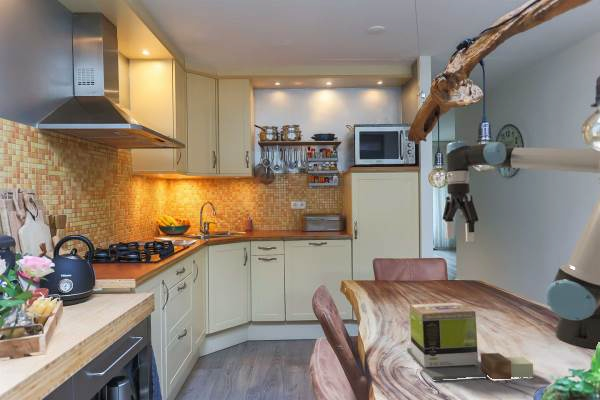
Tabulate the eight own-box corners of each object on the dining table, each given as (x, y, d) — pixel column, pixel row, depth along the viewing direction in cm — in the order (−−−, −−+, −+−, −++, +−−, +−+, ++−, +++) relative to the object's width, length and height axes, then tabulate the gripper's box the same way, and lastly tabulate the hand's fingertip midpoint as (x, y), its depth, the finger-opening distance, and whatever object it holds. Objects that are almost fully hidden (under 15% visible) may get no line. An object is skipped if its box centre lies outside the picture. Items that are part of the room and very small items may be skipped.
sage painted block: (523, 372, 93) (522, 356, 93) (533, 379, 89) (532, 363, 89) (500, 372, 93) (500, 357, 93) (510, 380, 89) (509, 364, 89)
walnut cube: (499, 371, 93) (498, 352, 93) (511, 381, 88) (511, 361, 88) (481, 372, 93) (480, 353, 93) (492, 381, 88) (491, 361, 88)
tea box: (459, 351, 103) (458, 301, 104) (478, 366, 93) (477, 311, 94) (410, 352, 103) (409, 302, 103) (424, 368, 93) (422, 312, 93)
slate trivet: (451, 350, 107) (451, 346, 107) (486, 378, 89) (486, 374, 89) (407, 351, 106) (407, 348, 106) (433, 381, 88) (433, 376, 88)
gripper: (432, 185, 142) (434, 237, 142) (467, 180, 118) (469, 243, 117) (450, 185, 143) (451, 236, 143) (488, 180, 118) (490, 242, 118)
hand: (459, 239), depth 130 cm, fingers open, 13 cm apart
